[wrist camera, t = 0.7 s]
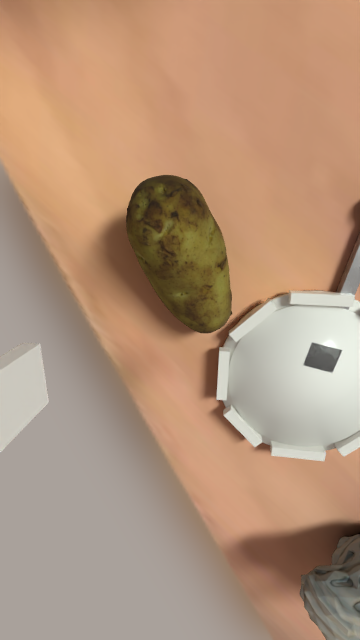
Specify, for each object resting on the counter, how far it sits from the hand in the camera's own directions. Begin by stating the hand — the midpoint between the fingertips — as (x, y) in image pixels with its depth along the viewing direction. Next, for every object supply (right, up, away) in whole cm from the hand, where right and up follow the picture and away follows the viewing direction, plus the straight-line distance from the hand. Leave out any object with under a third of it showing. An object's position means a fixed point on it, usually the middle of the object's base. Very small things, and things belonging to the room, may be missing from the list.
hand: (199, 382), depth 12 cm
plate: (+12, -3, +19) cm, 22 cm away
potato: (0, +8, +17) cm, 19 cm away
